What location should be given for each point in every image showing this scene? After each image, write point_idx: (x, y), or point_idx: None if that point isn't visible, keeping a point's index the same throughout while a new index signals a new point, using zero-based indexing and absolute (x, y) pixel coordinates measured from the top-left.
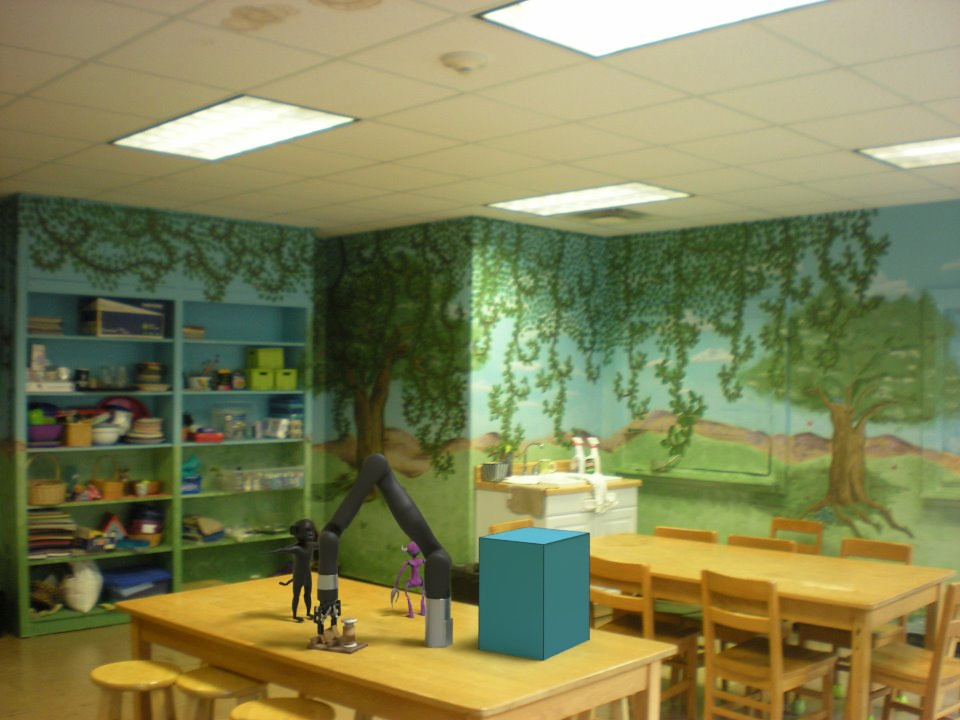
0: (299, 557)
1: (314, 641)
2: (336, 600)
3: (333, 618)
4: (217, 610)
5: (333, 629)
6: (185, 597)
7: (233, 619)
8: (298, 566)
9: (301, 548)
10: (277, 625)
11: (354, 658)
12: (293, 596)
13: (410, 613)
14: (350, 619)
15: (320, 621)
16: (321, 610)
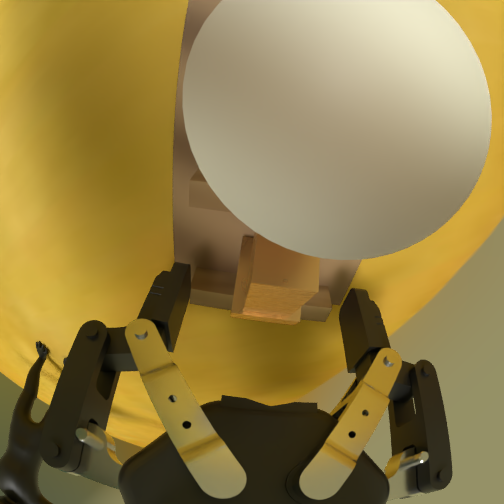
0: (32, 486)
1: (322, 297)
2: (84, 476)
3: (164, 344)
4: (124, 426)
5: (318, 259)
6: (111, 433)
7: (144, 421)
8: (35, 467)
9: (24, 499)
10: (123, 389)
11: (464, 30)
12: None
13: None
14: (340, 88)
15: (429, 373)
16: (430, 459)
